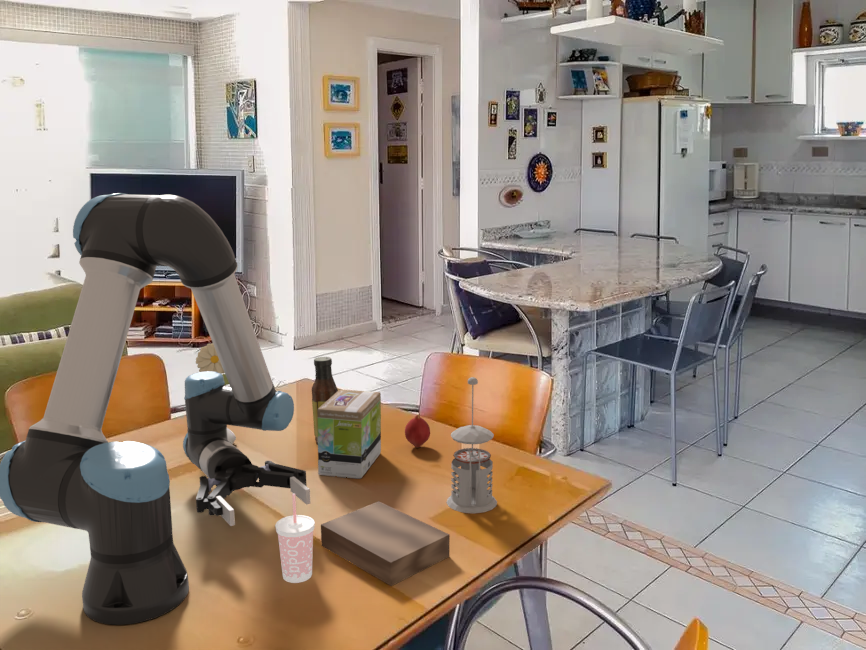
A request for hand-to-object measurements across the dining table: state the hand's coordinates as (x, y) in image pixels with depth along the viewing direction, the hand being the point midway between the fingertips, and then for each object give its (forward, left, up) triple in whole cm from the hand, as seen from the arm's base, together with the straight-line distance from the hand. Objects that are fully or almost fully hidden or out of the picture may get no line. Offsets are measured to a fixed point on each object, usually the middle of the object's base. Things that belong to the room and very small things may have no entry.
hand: (271, 507), depth 133 cm
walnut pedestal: (+13, -14, -8) cm, 20 cm away
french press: (+37, -12, -8) cm, 40 cm away
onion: (+50, +17, -8) cm, 54 cm away
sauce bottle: (+38, +35, -8) cm, 53 cm away
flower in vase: (+17, +50, -8) cm, 54 cm away
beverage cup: (-2, -10, -8) cm, 13 cm away
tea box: (+33, +20, -8) cm, 40 cm away
